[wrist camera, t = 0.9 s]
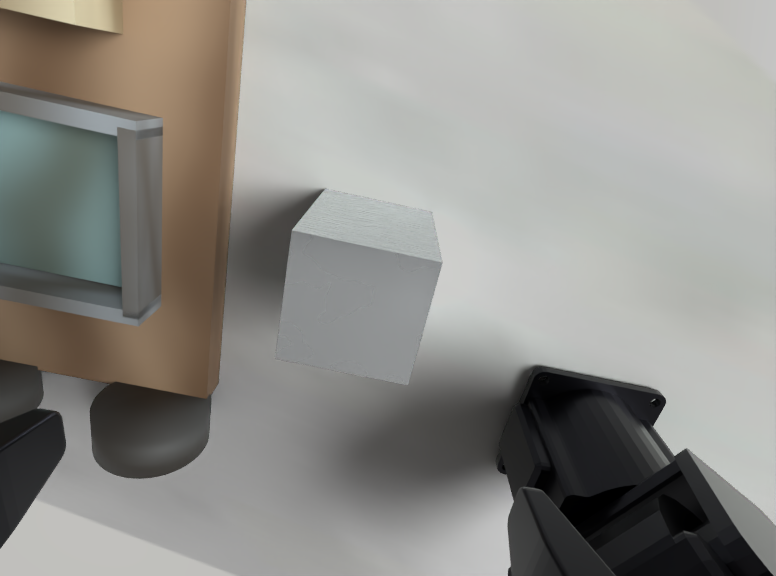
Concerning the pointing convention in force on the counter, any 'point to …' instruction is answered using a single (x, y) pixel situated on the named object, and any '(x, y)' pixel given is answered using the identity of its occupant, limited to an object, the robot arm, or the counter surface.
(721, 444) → the counter surface
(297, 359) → the grey rectangular block
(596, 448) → the robot arm
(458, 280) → the counter surface
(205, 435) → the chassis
